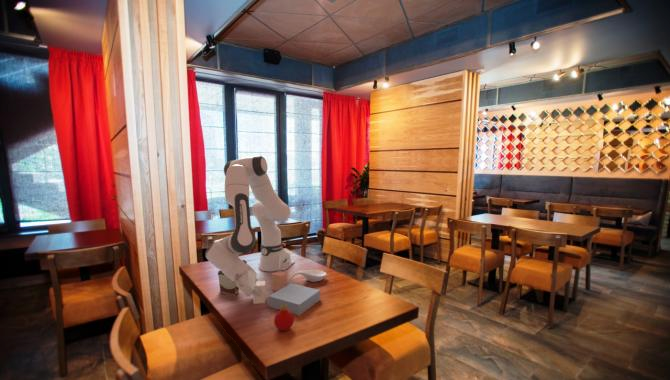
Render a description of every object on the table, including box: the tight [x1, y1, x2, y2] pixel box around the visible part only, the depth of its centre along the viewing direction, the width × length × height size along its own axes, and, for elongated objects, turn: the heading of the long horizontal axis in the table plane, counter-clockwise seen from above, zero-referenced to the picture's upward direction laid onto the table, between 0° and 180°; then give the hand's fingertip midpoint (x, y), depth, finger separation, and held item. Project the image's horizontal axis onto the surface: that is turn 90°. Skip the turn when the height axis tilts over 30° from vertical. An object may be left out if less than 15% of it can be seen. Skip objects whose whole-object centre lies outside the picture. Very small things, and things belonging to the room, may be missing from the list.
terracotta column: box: [271, 270, 288, 292], centre depth 144 cm, size 5×5×8 cm
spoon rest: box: [287, 269, 327, 285], centre depth 153 cm, size 24×12×7 cm, turn 131°
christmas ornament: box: [273, 303, 295, 332], centre depth 109 cm, size 7×7×10 cm
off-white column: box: [252, 280, 266, 305], centre depth 132 cm, size 5×5×8 cm
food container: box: [217, 269, 240, 296], centre depth 141 cm, size 12×6×10 cm, turn 65°
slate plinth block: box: [267, 282, 321, 316], centre depth 130 cm, size 16×16×5 cm
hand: (260, 291), depth 132 cm, fingers open, 7 cm apart
